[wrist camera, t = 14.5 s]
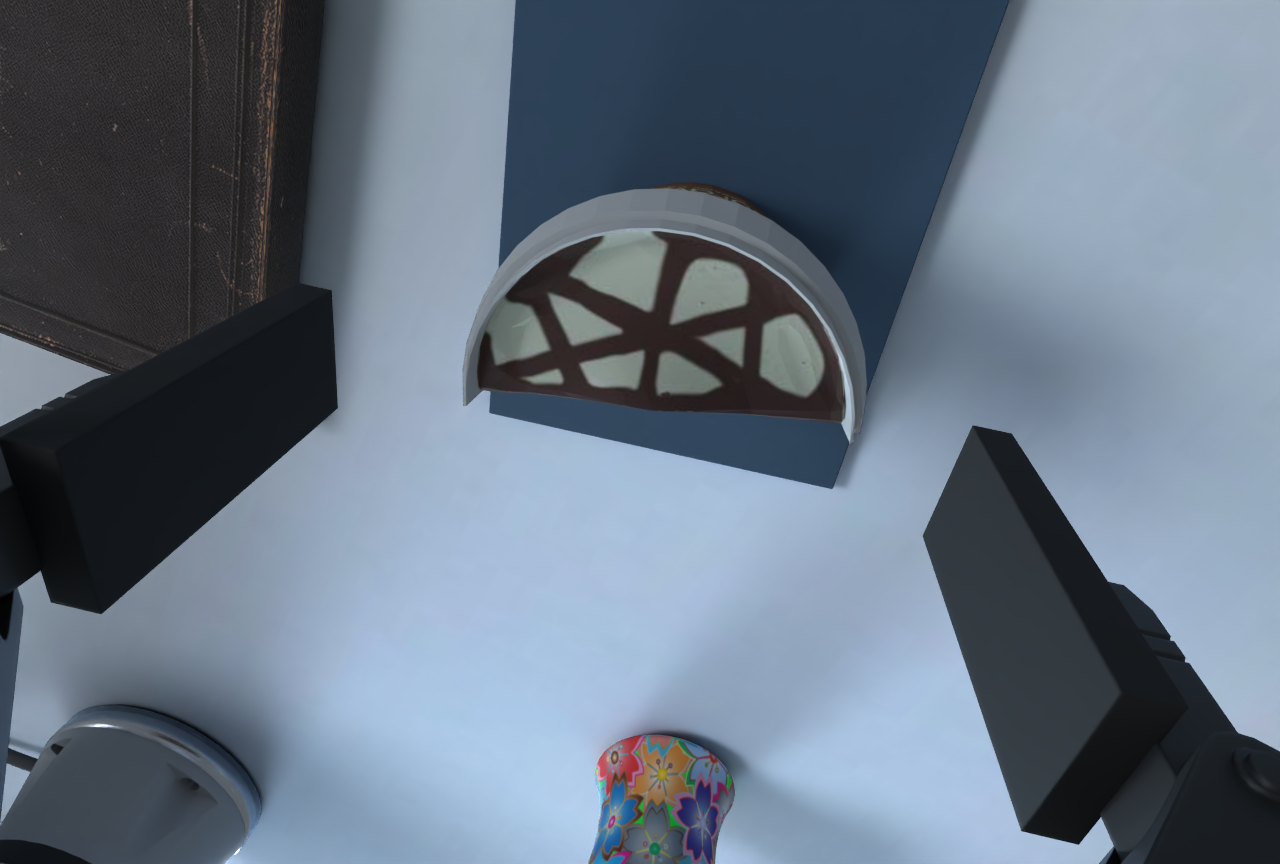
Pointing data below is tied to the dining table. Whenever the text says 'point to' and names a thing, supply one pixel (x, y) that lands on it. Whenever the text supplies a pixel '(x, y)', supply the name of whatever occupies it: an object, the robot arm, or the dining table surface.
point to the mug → (660, 802)
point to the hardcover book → (150, 167)
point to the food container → (670, 313)
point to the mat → (746, 158)
